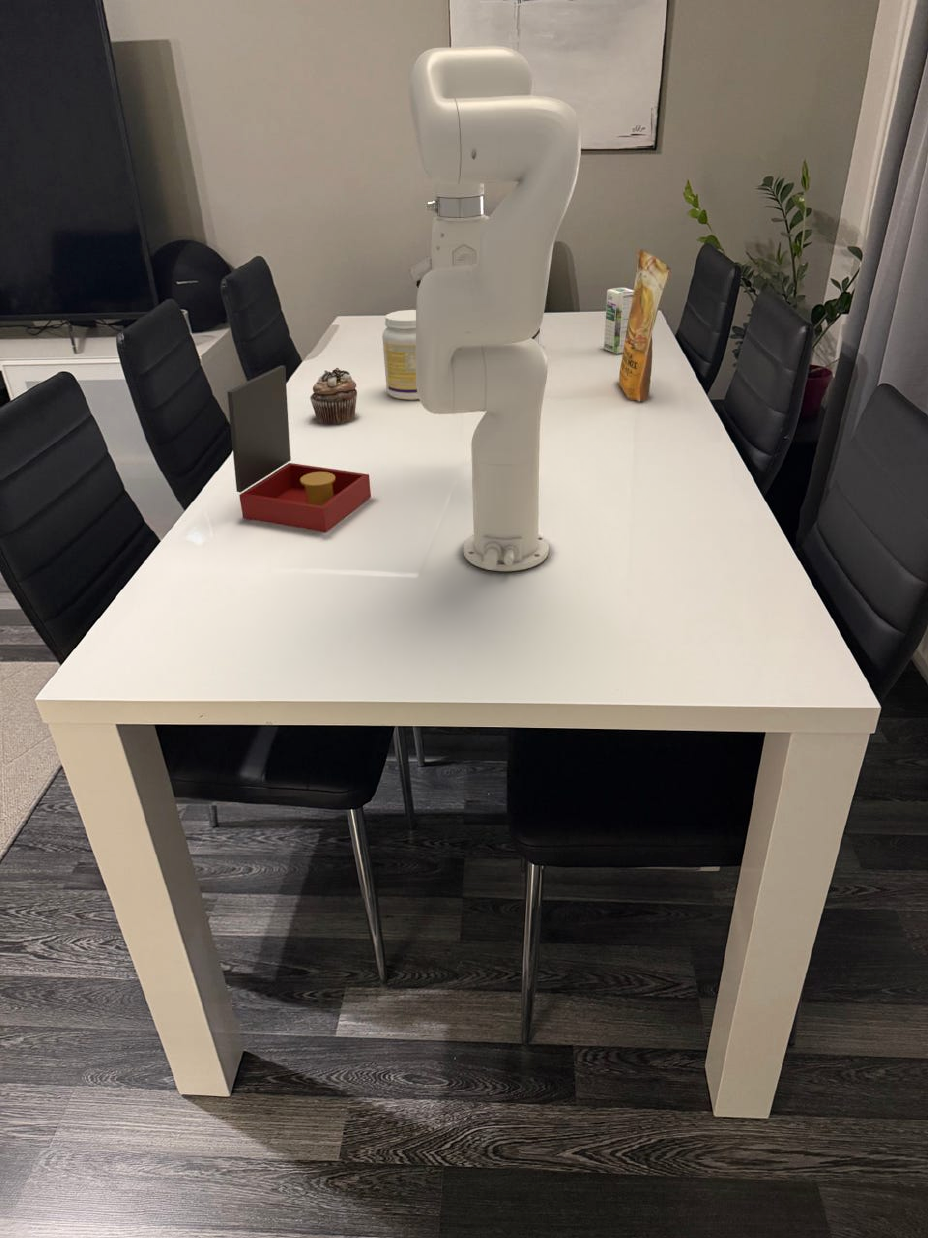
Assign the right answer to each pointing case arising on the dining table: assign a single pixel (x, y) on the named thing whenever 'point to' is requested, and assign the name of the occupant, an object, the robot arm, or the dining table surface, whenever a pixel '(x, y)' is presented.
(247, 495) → the red open tray
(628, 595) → the dining table surface
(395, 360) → the supplement tub
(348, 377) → the cupcake
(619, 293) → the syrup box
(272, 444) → the lid
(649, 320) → the pancake mix bag
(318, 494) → the brass drawer pull
